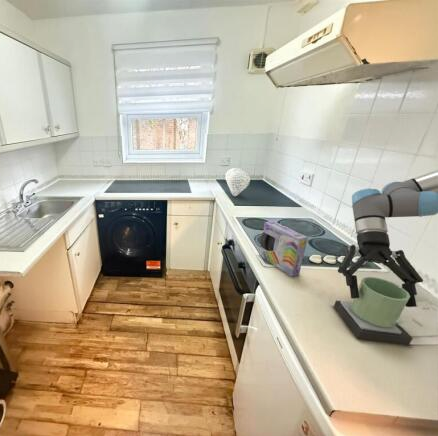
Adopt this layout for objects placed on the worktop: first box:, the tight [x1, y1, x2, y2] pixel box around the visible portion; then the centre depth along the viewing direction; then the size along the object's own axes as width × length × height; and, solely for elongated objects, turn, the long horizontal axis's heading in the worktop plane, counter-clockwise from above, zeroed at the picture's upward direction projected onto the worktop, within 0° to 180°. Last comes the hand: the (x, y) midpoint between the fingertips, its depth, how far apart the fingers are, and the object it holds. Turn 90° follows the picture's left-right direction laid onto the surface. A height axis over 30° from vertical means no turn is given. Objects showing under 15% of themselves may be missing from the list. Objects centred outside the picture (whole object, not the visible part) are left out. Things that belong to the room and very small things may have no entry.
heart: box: [224, 167, 251, 197], centre depth 194 cm, size 28×16×22 cm, turn 175°
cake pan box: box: [259, 220, 308, 277], centre depth 102 cm, size 19×5×18 cm, turn 18°
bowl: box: [351, 276, 410, 327], centre depth 71 cm, size 10×10×10 cm
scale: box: [333, 300, 414, 347], centre depth 74 cm, size 13×13×4 cm
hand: (382, 302), depth 69 cm, fingers open, 13 cm apart
